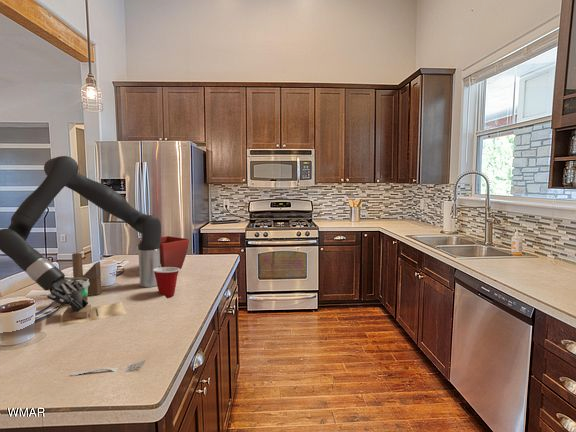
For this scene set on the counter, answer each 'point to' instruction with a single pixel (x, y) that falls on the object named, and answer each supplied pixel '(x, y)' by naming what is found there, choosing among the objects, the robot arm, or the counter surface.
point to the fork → (113, 368)
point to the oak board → (98, 313)
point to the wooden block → (87, 274)
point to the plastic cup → (166, 280)
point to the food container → (81, 285)
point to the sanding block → (72, 313)
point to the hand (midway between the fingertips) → (83, 307)
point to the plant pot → (173, 251)
